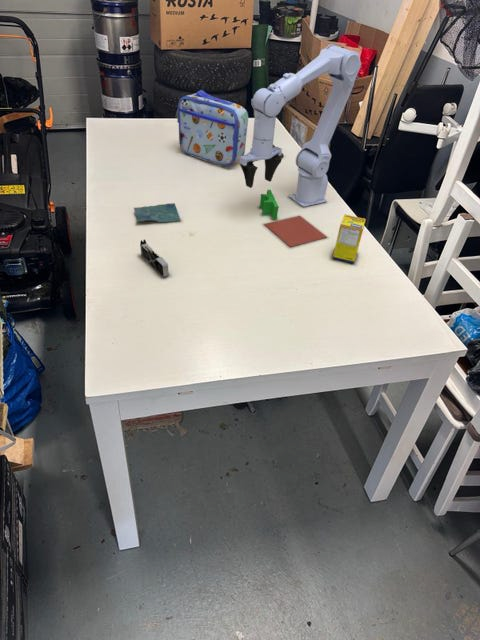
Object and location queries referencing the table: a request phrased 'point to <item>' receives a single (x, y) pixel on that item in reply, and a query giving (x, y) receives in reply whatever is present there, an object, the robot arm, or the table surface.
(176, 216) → the terrain model
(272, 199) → the pipe clamp
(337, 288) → the table surface
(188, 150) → the lunch box
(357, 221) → the supplement box
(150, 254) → the graphics card
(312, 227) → the napkin
